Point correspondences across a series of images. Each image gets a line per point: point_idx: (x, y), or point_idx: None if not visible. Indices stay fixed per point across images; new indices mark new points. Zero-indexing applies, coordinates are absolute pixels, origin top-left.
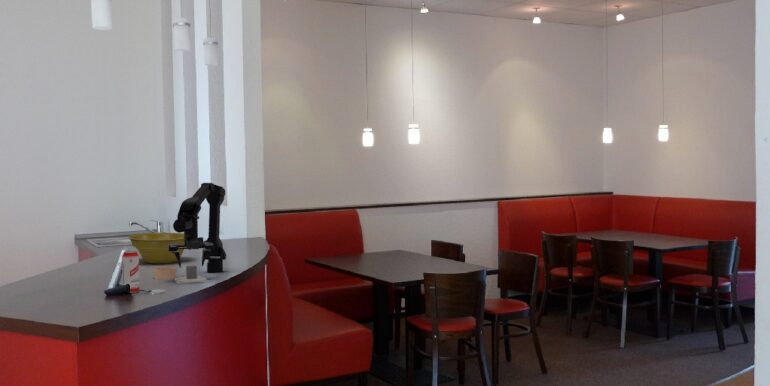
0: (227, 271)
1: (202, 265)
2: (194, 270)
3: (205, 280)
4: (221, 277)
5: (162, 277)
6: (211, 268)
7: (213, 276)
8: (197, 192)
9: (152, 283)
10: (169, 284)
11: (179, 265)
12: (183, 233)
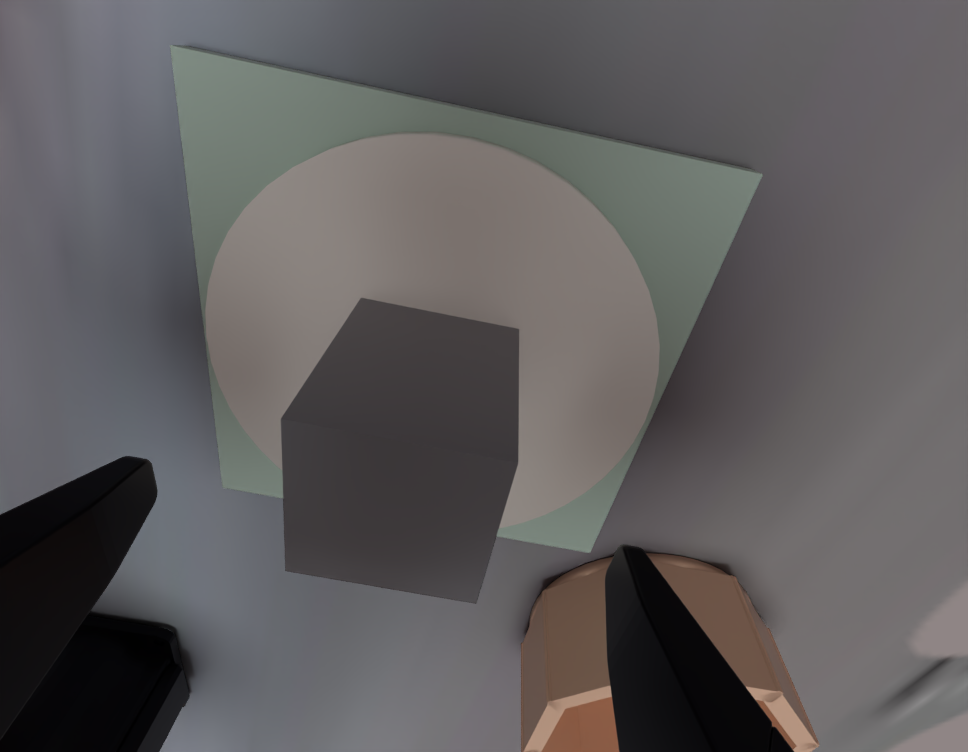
0: None
1: (127, 466)
2: (360, 380)
3: (233, 189)
4: (22, 423)
5: (727, 594)
6: (120, 690)
7: None
8: None
9: (927, 469)
10: (823, 275)
11: (664, 581)
12: None
